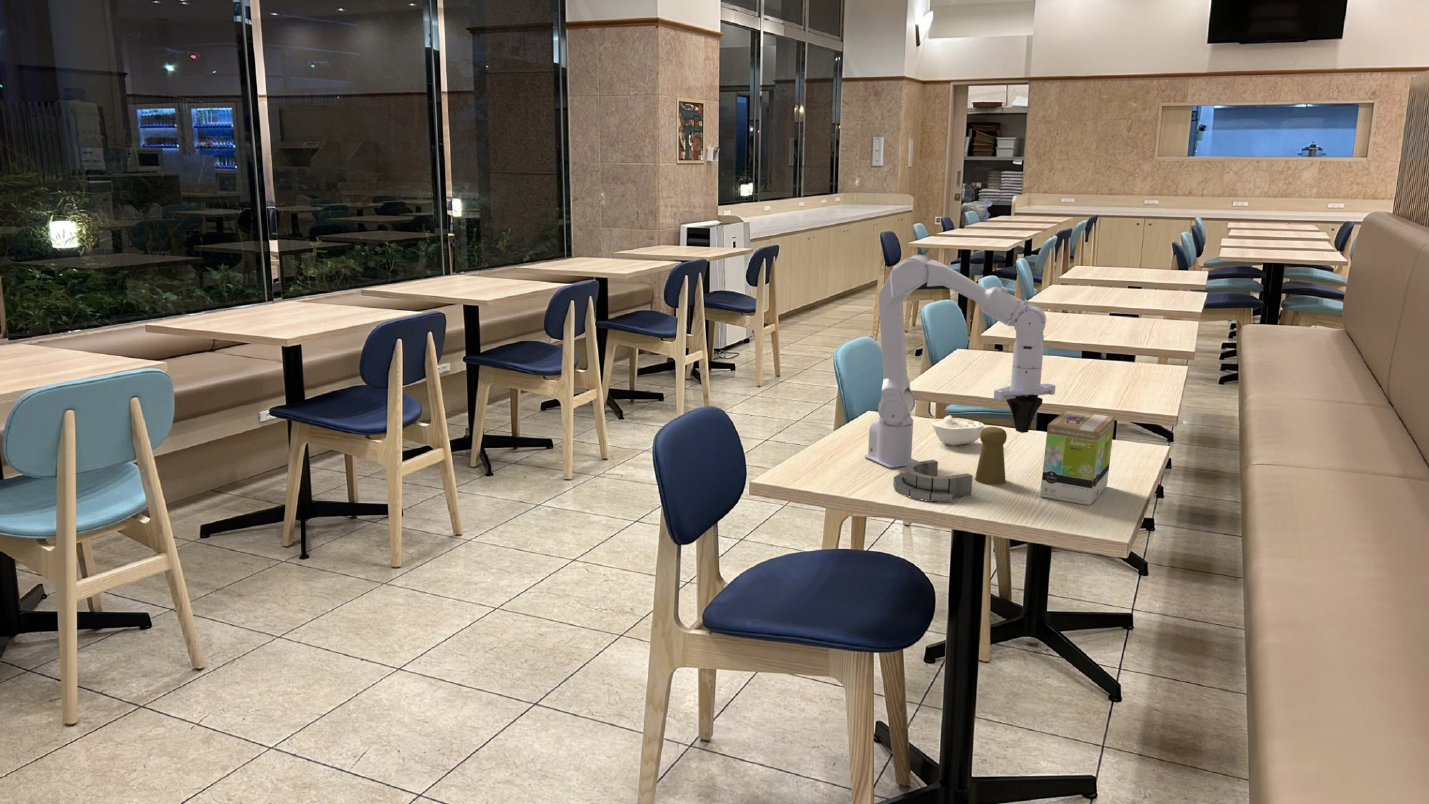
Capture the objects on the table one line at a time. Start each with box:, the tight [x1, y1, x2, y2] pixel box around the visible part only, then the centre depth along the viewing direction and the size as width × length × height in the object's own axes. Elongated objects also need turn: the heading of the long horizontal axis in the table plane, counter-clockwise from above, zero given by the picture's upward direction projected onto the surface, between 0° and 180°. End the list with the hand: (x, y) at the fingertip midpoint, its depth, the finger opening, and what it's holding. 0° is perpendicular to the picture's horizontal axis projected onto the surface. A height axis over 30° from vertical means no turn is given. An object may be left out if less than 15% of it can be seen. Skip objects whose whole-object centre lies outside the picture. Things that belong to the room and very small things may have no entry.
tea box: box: [1039, 410, 1115, 506], centre depth 204 cm, size 15×10×15 cm, turn 149°
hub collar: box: [892, 459, 973, 503], centre depth 205 cm, size 16×12×4 cm
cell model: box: [930, 415, 985, 446], centre depth 239 cm, size 10×12×7 cm
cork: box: [974, 426, 1008, 486], centre depth 212 cm, size 6×6×11 cm
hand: (1021, 431), depth 214 cm, fingers closed
